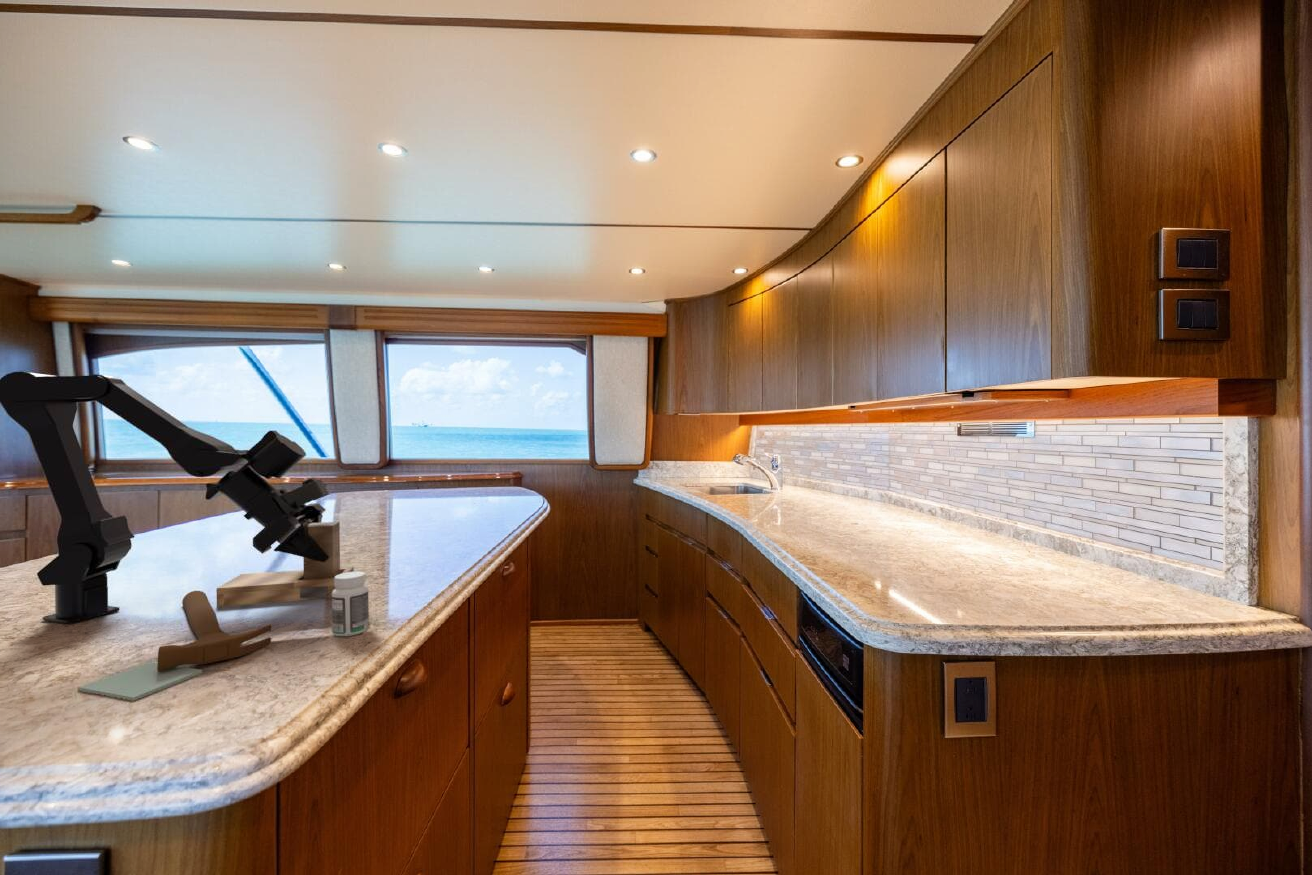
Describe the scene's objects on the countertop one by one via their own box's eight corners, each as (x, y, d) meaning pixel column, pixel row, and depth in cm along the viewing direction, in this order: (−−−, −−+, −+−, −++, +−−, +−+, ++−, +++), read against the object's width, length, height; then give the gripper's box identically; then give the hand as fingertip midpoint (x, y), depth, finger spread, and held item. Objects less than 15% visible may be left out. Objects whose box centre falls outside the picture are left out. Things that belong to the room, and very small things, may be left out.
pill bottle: (372, 624, 82) (371, 569, 82) (364, 635, 78) (363, 577, 78) (337, 627, 81) (337, 571, 81) (327, 639, 77) (327, 580, 76)
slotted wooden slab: (215, 613, 87) (215, 589, 87) (241, 596, 96) (241, 574, 96) (340, 603, 92) (340, 580, 92) (353, 587, 101) (353, 566, 101)
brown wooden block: (303, 596, 93) (303, 527, 93) (312, 588, 97) (311, 522, 97) (333, 593, 94) (332, 525, 94) (340, 586, 99) (339, 521, 98)
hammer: (157, 614, 86) (156, 675, 64) (158, 594, 86) (158, 648, 64) (248, 602, 94) (275, 653, 72) (249, 584, 94) (277, 630, 72)
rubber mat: (77, 690, 61) (77, 687, 61) (149, 664, 68) (149, 661, 68) (133, 700, 59) (133, 697, 59) (202, 673, 66) (202, 669, 66)
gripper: (275, 468, 85) (353, 533, 89) (312, 461, 103) (376, 515, 107) (216, 519, 83) (298, 584, 87) (265, 503, 101) (332, 557, 105)
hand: (330, 556), depth 96 cm, fingers closed on brown wooden block, 4 cm apart
